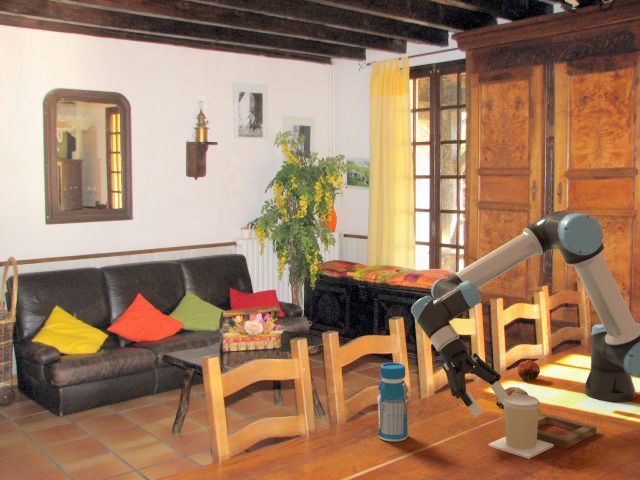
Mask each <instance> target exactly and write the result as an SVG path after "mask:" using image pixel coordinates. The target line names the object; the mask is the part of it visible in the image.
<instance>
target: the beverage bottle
mask: <svg viewBox="0 0 640 480" xmlns="http://www.w3.org/2000/svg"><path fill="white" fill-rule="evenodd" d="M379 371H380V372H379V373H380V374H379V375H380V376H379V377H380V378H381V381H380V383H379V384H378V387H377V392H378V395H377V398H376V399H377V405H378V406H377V412H378V413H377V416H378V418H377V420H378V424H377V425H378V428H377V436H378V438H379V439H381V440H383V441H386V442H392V443H394V442H402V441H404V440H406V439H407V438H408V436H409V430H408V414H409V413H408V404H409V397H408V393H409V388H408V386H407V384H406V381H405V380H404V379H406V378H405V377H406V366H405V365H404V364H403V363H400V362H386V363H382V364H380V370H379Z"/></svg>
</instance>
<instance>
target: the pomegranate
mask: <svg viewBox="0 0 640 480" xmlns="http://www.w3.org/2000/svg"><path fill="white" fill-rule="evenodd" d="M540 373H541V368H540V366H539V364H538V363H537V362H535V361H533V360H532V359H526V360H523V361H521V362H519V364H518V365H517V374H518V376H519V377H520V378H521V379H522V380H528V381H527V382H528V384H529V383H530V380H531V381H532V380H537V379H538V378H539V377H538V376H539V375H540Z"/></svg>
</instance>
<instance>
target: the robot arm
mask: <svg viewBox="0 0 640 480" xmlns="http://www.w3.org/2000/svg"><path fill="white" fill-rule="evenodd" d="M603 238H604V230H603V228H602V225H601V224H600V223H599V221H598V220H597V219H596V218H595V217H593V216H591V215H589V214H586V213H583V212H571V211H565V210H559V211H553V212H551V213H549V214H546V215H545V216H543V217H541V218H540V219H538V220H536V221H534V222H533V223H531V224H530V225H527V226H526V227H524V228H523V229H522V233H520V234H519V235H517V236H516V237H514V238H512V239H511V240H509V241H507V242H506V243H504V244H503V245H501V246H499V247H498V248H497V247H496V249H494V250H493V251H492V250H491V252H489V253H487V254H486V255H484V256H482V257H480V258H479V259H477V260H476V261H473V262H472V263H471V264H469V265H467V266H466V267H464V268H462V269H460V270H459V271H457V272H456V273H454V274H452V275H450V276H448V277H446V278H440V279H437V280H435V281H434V282H433V284H432V285H431V288H430V293H431V296H430V295H425V296H423V297H421V298H419V299H418V300H417V301H415V302H414V303H413V304H412V306H411V308H410V311H411V314H412V316H413V317H414V319H415V321H416V323H417V324H418V326H419V327H420V328H421V330H422V331H423V332H424V334H425V336H426V337H427V338H428V339H429V341H430V342H431V344H432V345H433V347H434V348H435V350H436V352H439V354H438V355H439V356H440V358H441V359H442V360H443V362H444V364H443V365H442V366H441V367H442V369H443V371H444V372H445V375H446V379H447V383H448V386H449V390H450V394H451V396H452V397H455V398H456V399H458V400H459V399H461V400H462V402H463V403H464V405H465V406H466V407H467V408H468V409H469V411H470V412H471V415H473V417H474V418H475V419H477V418H478V417H480V416H481V414H483V413H484V411H483V410H482V408H481V406H480V405H479V404H478V402H477V401H476V400H475V398H474V397H473V395H472V394H471V392H470V391H467V388H466V387H467V386H466V385H467V384H466V375H469V374H470V375H474V376H477V378H480V379H481V380H483V381H485V383H487V384H489V385H491V386H490V389H491V390H492V391H493V394H495V395H496V397H498V398H499V400H500V401H501V403H502V404H503V400H504V398H505V397H506V396H508V395H507V393H506V392H505V388H504V387H503V386H502V384H501V383H500V380H501V378H502V375H501V374H500V373H498V371H496V370H495V369H493V368H492V367H491V366H490V365H489V364H488V363H487V362H485V361H484V360H483V359H482V358H480V356H479V355H478V354H477V353H476V352H474V353H472V355H469V353H468V350H469V349H468V347H467V345H466V344H465V342H464V341H463V339H462V338H460V335H459V334H458V332H457V331H456V330H455V328H454V327H453V326H452V324H451V321H453V320H455V319H456V318H457V317H460V316H461V315H462V314H464V313H466V312H467V311H470V310H471V309H473V308H474V307H476V306H477V305H479V304H480V303H481V301H482V296H481V293H480V292H479V290H478V289H479V288H481V287H484V285H486V284H488V283H490V282H491V281H493V280H494V279H497V278H498V277H499V276H501V275H503V274H505V273H507V272H508V271H510V270H512V269H513V268H515V267H516V266H518V265H520V264H522V263H523V262H525V261H527V260H528V259H530V258H532V257H534V256H535V255H538V256H542V255H543V254H545V253H547V252H550V251H553V250H559V251H560V254H561V256H562V257H563V260H564V262H565V264H566V265H568V266H571V267H573V268H574V270H575V271H576V274H577V276H578V278H579V279H580V282H581V283H582V285H583V288H584V289H585V291H586V294H587V296H588V298H589V300H590V301H591V304H592V305H593V308H594V309H595V312H596V314H597V315H598V317H599V320H600V322H601V323H596V324H593V326H592V327H591V334H590V337H591V338H590V339H591V342H590V343H591V344H590V345H591V348H590V370H589V373H588V376H587V379H586V381H585V384H584V394H585V396H588V397H591V398H592V399H597V400H602V401H606V402H607V401H608V402H627V401H628V402H629V401H632V400H634V399H635V397H636V389H635V385H634V382H633V379H632V377H635V378H640V323H637V322H636V321H635V319H634V317H633V315H632V314H631V313H632V312H631V311H630V309H629V307H628V305H627V302H626V300H625V299H624V297H623V295H622V293H621V291H620V289H619V287H618V284H617V282H616V281H615V278H614V277H613V274H612V273H611V271H610V269H609V266H608V264H607V263H606V261H605V258H604V256H603V252H604V250H605V246H604V244H603ZM503 406H504V404H503Z"/></svg>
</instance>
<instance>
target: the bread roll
mask: <svg viewBox="0 0 640 480" xmlns="http://www.w3.org/2000/svg"><path fill="white" fill-rule="evenodd" d="M504 390H505V392H506V393H507V395H508V396H509V395H516V394H520V395H529V393H528V392H527V391H526V390H524V389H523V388H520V387H518V386H517V387H516V386H511V387H507V388H504ZM495 405H496V406H497V407H499V409H500V410H503V411H504V406H503V404H502V403H501V401H500V400H499V398H498V397H497V396H496V403H495Z"/></svg>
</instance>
